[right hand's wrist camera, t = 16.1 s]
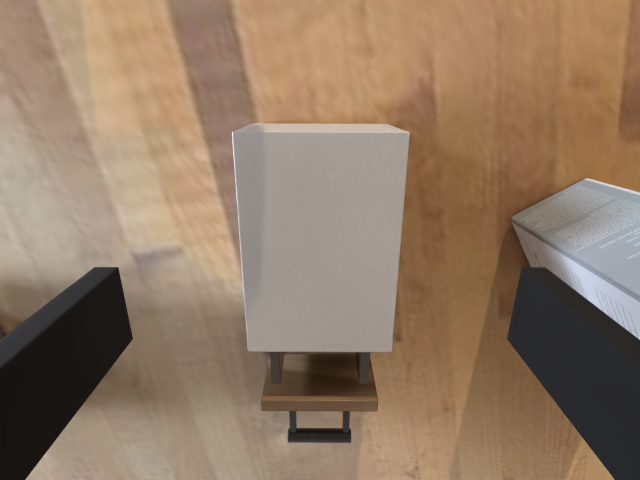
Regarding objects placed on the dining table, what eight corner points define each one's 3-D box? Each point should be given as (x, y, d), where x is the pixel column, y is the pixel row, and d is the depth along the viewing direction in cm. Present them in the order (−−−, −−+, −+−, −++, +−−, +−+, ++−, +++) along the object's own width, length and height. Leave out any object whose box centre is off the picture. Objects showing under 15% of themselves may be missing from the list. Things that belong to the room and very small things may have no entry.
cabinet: (377, 299, 38) (391, 352, 30) (263, 299, 38) (248, 351, 30) (388, 123, 32) (410, 132, 24) (253, 123, 32) (231, 131, 24)
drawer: (366, 409, 42) (373, 462, 36) (273, 409, 42) (264, 462, 36) (377, 220, 34) (389, 247, 28) (263, 220, 34) (251, 246, 28)
